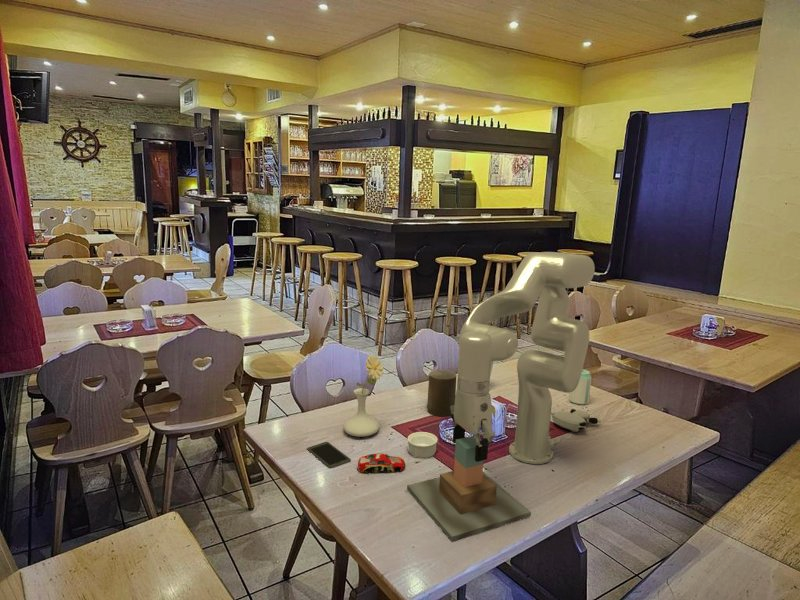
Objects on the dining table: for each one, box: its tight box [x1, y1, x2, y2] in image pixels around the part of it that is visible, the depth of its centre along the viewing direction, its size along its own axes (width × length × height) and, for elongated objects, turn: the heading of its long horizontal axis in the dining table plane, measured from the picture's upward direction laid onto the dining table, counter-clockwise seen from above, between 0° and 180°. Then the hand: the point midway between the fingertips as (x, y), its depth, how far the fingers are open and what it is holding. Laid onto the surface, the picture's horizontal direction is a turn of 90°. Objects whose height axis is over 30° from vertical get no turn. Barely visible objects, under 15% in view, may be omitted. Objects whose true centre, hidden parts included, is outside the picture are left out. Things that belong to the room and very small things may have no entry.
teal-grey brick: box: [454, 435, 484, 468], centre depth 124 cm, size 5×5×5 cm
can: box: [568, 368, 592, 406], centre depth 190 cm, size 7×7×12 cm
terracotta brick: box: [453, 458, 484, 487], centre depth 125 cm, size 5×5×5 cm
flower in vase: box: [342, 354, 384, 438], centre depth 161 cm, size 13×11×25 cm
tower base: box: [406, 470, 532, 542], centre depth 127 cm, size 22×22×6 cm
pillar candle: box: [426, 369, 458, 417], centre depth 179 cm, size 10×10×15 cm
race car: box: [357, 453, 406, 475], centre depth 142 cm, size 13×5×4 cm, turn 95°
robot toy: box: [551, 408, 602, 433], centre depth 171 cm, size 12×4×15 cm
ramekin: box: [406, 431, 439, 459], centre depth 151 cm, size 9×9×4 cm
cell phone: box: [306, 441, 352, 469], centre depth 148 cm, size 7×14×1 cm, turn 38°
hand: (469, 450), depth 124 cm, fingers open, 9 cm apart
